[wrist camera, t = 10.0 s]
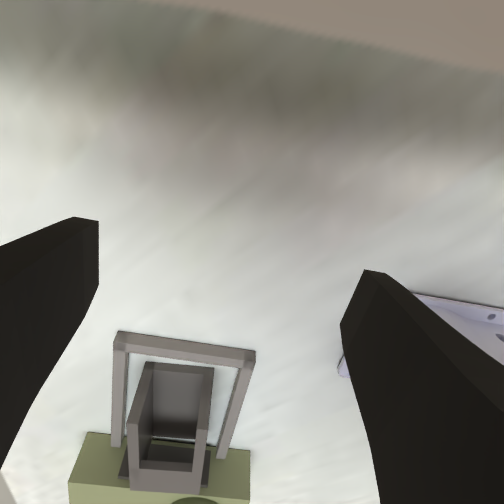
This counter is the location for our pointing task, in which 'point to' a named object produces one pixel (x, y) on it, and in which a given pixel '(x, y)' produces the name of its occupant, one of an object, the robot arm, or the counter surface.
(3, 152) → the counter surface
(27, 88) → the counter surface
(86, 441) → the grey frame stand
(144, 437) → the chute
